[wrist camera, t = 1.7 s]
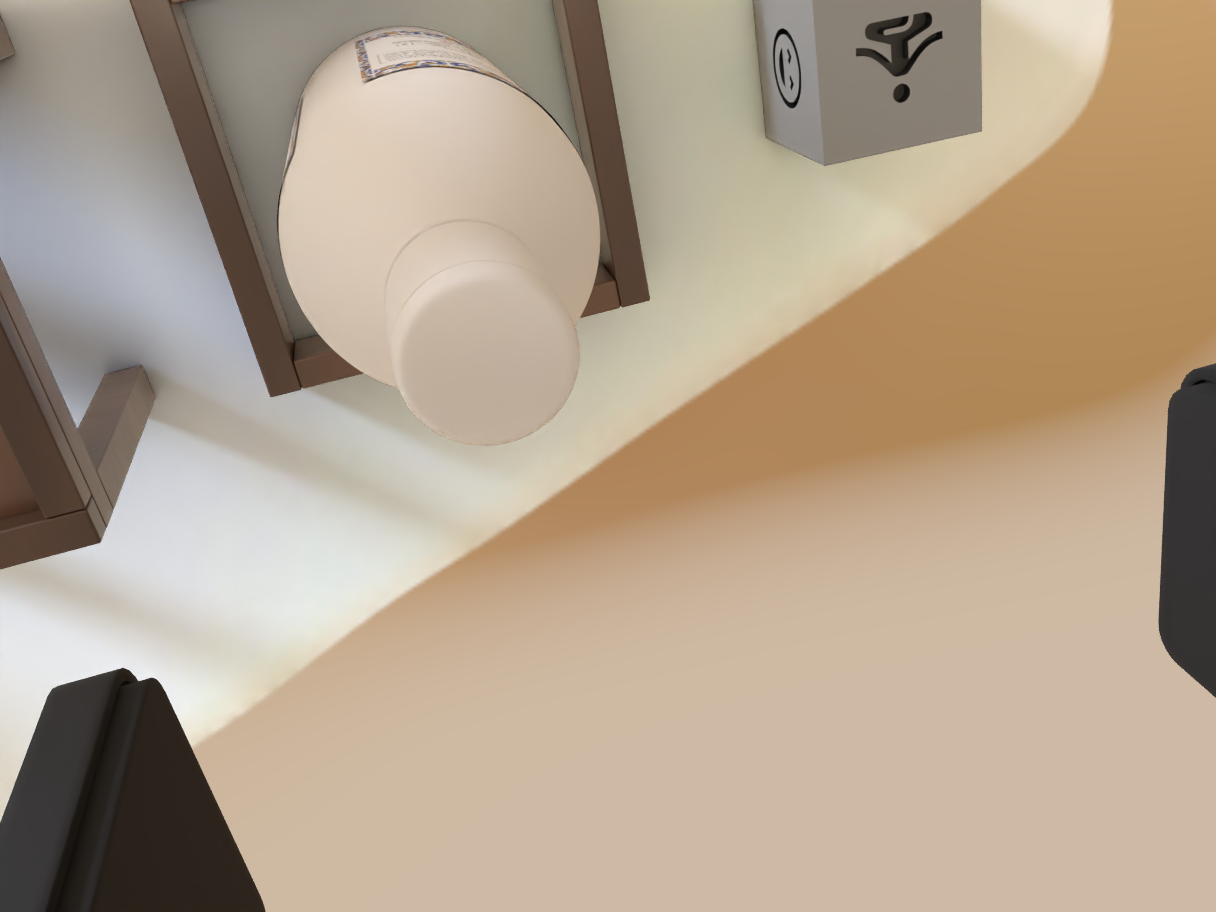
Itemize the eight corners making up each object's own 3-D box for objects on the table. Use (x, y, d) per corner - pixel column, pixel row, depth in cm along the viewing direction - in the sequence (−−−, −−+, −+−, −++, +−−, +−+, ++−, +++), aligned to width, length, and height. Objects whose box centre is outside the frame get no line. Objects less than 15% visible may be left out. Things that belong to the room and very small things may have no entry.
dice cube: (900, -53, 36) (980, -51, 31) (906, 107, 38) (982, 130, 34) (750, -24, 35) (811, -17, 31) (766, 137, 37) (824, 165, 33)
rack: (-226, 502, 35) (-407, 688, 27) (-472, 96, 30) (-802, 165, 21) (636, 283, 39) (724, 386, 30) (562, -120, 33) (645, -137, 24)
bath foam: (406, 296, 37) (476, 634, 19) (243, 134, 34) (149, 361, 16) (564, 152, 36) (787, 367, 19) (412, -28, 33) (507, 25, 15)
